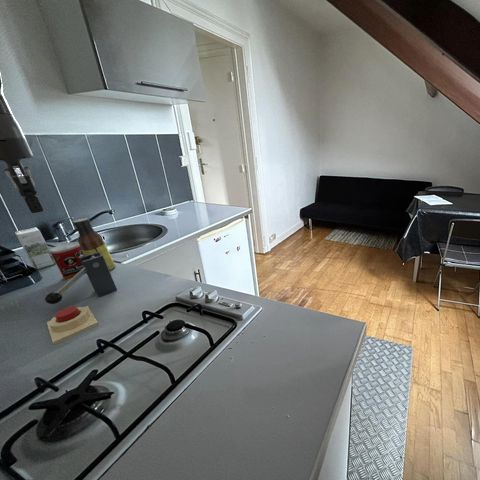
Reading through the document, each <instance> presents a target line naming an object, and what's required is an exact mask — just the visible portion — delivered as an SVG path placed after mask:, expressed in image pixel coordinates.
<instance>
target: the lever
mask: <svg viewBox="0 0 480 480" xmlns="http://www.w3.org/2000/svg"><path fill="white" fill-rule="evenodd" d="M94 257H95V256H94V255H92V256H91V257H90V258H89V259H91V258H94ZM86 272H87V271H86V269H85V267H84V268H83V269H82V270H81V271H79V272H78V273H77V274H76V275H75V276H74V277H73V278H71V279H68V280H67V282H65V284H63V286H61V287H60V288H59V289H58V290H57V291H51V292H49V293H47V294H46V295H45V298H44V301H45V302H46V303H47V304H49V305H56V304H59V303H61V301H62V300H63V294H64V293H65V292H67V290H69V288H70V287H72V286H73V285H74V284H76V282H78V280H80V278H82V277H84V275H86V274H87V273H86ZM85 273H86V274H85Z"/></svg>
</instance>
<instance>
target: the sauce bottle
mask: <svg viewBox="0 0 480 480" xmlns="http://www.w3.org/2000/svg"><path fill="white" fill-rule="evenodd" d="M72 224H73V226H74V227H75V228H76V231H77V233H78V239H77V242H78V243H79V244H80V246H81V248H82V251H83V253H84V255H85V256H86V255H89V254H93V253H96V252H99V253H100V255H102V256H103V258H104V260H105V262H106V265H107V267H108V269H109V272H111V271H113V270H115V268H116V263H115V261H114V259H113V257H112V255H111V253H110V250H109V249H108V246H107V245H106V242H105V241H104V239H103V236H102V235H101V234H100V233H98V232H97V231H95V229H94V228H93V227H92V224H91V220H90V218H89V217H83V218H78V219H75V220H73V221H72Z"/></svg>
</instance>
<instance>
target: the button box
mask: <svg viewBox="0 0 480 480" xmlns="http://www.w3.org/2000/svg"><path fill="white" fill-rule="evenodd" d="M77 308H78V310H79V312H80V314H79V315H78V316H77V317H75V318H74V319H71V320H69V321H66V322H62V323H59V322H58V321H57V319H56V317H55V316H53V317H52V318H51V319H50V320H48V321H46V324H47V325H46V326H47V329H48V331H49V336H50V338H51V342H52V344H53V345H58V344H59V343H61V342H64V341H66V340H68V339H70V338H72V337H75V336H77V335H80V334H82V333H83V332H86V331H88V330H90V329H92V328H95V327H97V326H99V325H100V324H99V321H98V320H97V319H96V317H95V316H94V313H93V312H92V310H91V308H90V307H89V306H88V305H86V306H84V307H83V306H78V307H77Z"/></svg>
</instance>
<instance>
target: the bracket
mask: <svg viewBox="0 0 480 480" xmlns="http://www.w3.org/2000/svg"><path fill="white" fill-rule="evenodd" d="M92 255H94V256H95V257H94V258H91V259H89V258H90V257H91V256H92ZM79 258H80V260H81V262H82V265H83V267H85V269H86V271H87V272H86V276H87V278H88V279H89V282H90V284H91V286H92V288H93V290H94V292H95V293H96V294H97V297H98V298H101V297H104V296H106V295H109V294H112V293H114V292H116V291H118V288H117V286H116V284H115V281H114V279H113V277H112V274H111V271H109V269H108V267H107V265H106V262H105V260H104V258H103V256H102V255H100V253H99V252H96V253H93V254H89V255H86V256H82V257H79Z"/></svg>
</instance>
